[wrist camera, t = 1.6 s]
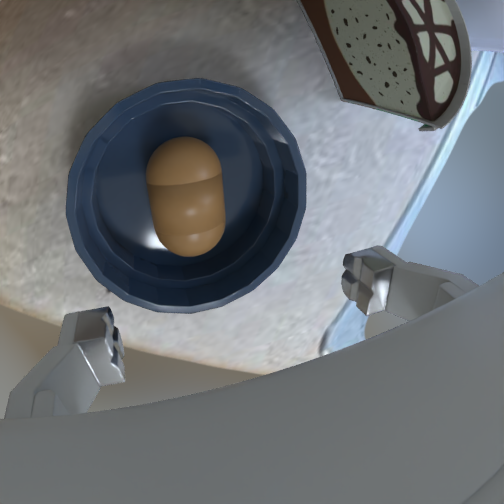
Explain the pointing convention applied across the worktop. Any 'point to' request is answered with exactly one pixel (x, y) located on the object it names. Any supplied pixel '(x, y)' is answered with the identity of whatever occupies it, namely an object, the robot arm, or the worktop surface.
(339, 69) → the cake slice
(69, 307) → the worktop surface
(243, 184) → the bowl
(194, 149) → the potato
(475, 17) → the soap bottle
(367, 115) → the worktop surface
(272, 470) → the robot arm
